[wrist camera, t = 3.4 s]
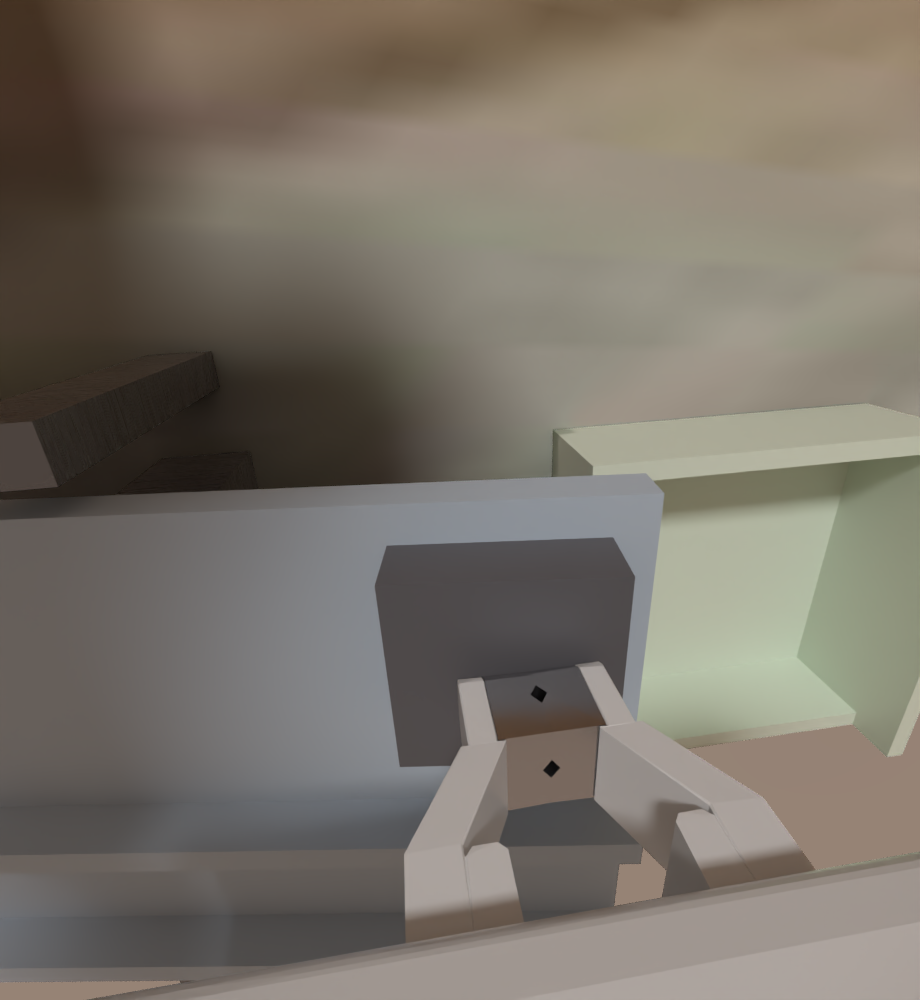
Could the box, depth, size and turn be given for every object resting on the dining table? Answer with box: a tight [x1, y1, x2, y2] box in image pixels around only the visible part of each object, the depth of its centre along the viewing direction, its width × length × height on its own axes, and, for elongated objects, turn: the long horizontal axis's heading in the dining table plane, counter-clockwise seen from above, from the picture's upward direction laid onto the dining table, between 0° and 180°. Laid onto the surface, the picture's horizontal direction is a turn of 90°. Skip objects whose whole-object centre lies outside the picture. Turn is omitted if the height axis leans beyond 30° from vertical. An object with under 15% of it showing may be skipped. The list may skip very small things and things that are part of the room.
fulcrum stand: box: [0, 351, 258, 983], centre depth 19 cm, size 20×4×11 cm, turn 3°
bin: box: [552, 403, 920, 757], centre depth 24 cm, size 16×16×7 cm
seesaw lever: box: [0, 473, 664, 982], centre depth 14 cm, size 16×28×4 cm, turn 93°
